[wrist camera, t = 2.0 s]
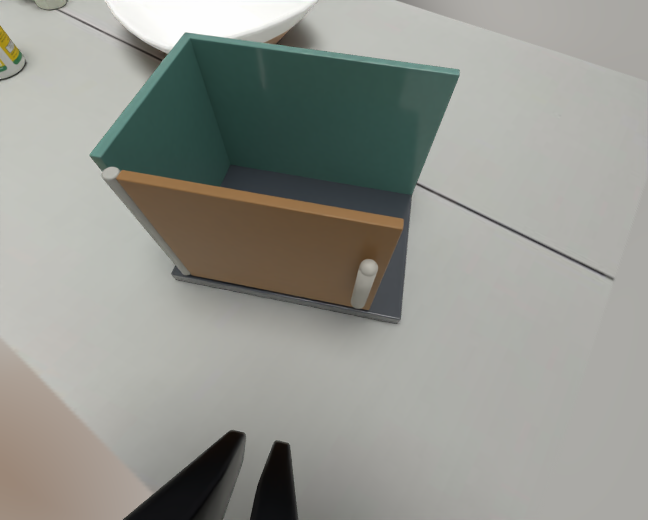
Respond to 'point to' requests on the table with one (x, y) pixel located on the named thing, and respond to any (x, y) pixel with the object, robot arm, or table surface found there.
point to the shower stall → (288, 134)
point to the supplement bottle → (9, 56)
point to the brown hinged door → (262, 237)
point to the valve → (50, 4)
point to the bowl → (208, 19)
